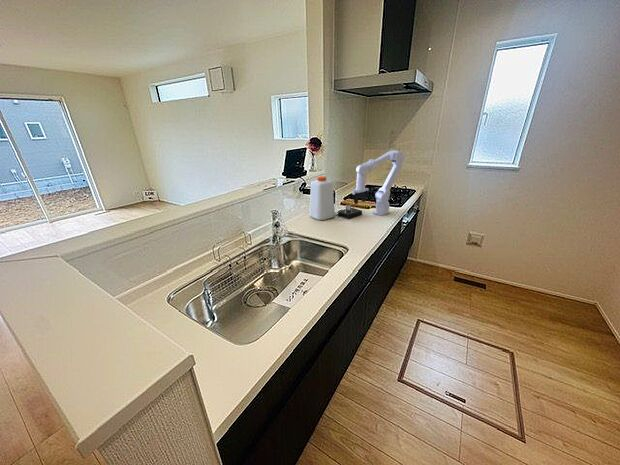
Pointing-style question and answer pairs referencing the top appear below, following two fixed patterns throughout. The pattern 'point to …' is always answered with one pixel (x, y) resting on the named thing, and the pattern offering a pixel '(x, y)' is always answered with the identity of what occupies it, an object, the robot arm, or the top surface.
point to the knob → (348, 208)
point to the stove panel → (350, 213)
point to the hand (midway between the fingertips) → (359, 202)
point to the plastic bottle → (321, 199)
